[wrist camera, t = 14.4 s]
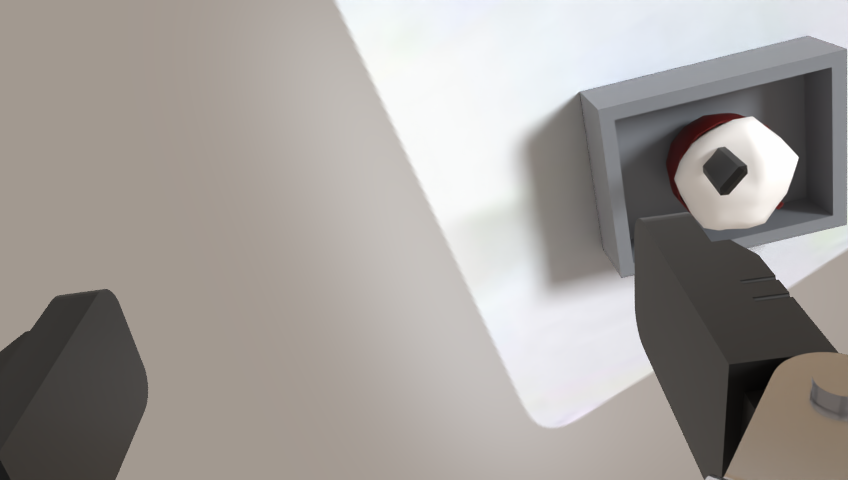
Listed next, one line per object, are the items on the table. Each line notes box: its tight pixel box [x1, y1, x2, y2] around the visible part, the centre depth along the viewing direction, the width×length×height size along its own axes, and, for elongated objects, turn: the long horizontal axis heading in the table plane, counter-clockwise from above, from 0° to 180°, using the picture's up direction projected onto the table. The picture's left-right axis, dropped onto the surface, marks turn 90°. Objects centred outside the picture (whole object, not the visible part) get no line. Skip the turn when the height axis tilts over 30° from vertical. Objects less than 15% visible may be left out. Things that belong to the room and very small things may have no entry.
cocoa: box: [666, 113, 799, 230], centre depth 41 cm, size 10×6×12 cm, turn 34°
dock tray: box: [580, 36, 847, 278], centre depth 46 cm, size 11×14×4 cm
